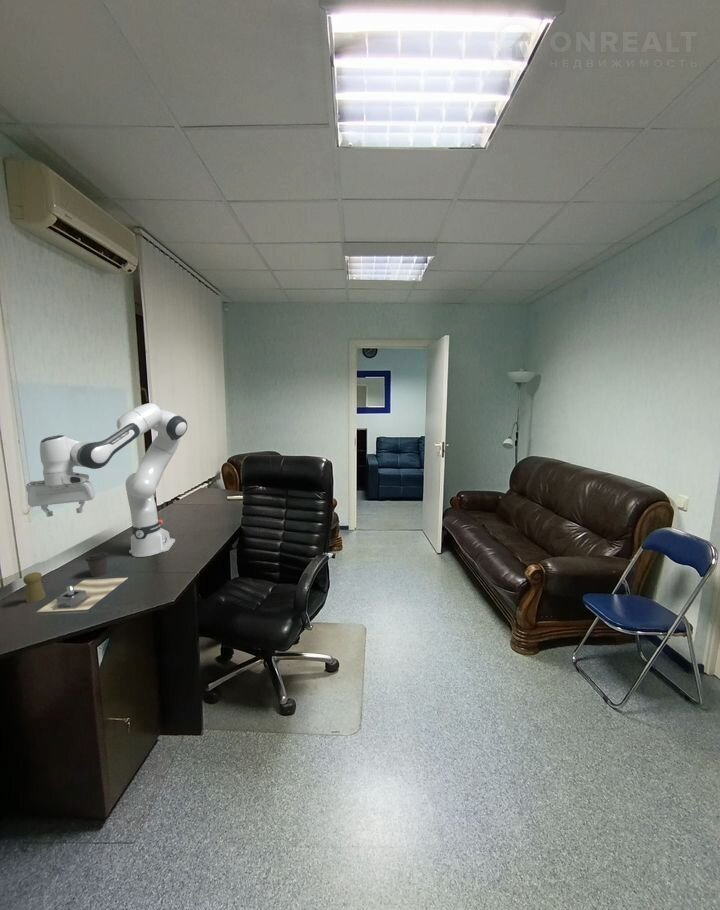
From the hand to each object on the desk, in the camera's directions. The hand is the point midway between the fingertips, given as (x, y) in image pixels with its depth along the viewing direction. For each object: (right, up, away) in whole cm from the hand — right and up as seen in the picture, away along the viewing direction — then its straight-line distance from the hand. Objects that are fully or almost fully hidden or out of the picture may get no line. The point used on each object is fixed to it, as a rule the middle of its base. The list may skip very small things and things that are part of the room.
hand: (65, 514), depth 143 cm
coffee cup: (+2, -29, +16) cm, 34 cm away
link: (+9, -31, -7) cm, 33 cm away
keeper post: (+9, -31, -7) cm, 33 cm away
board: (+8, -31, 0) cm, 32 cm away
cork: (-8, -32, -3) cm, 34 cm away
